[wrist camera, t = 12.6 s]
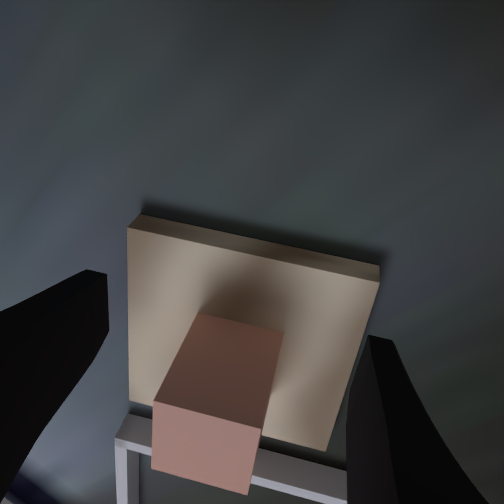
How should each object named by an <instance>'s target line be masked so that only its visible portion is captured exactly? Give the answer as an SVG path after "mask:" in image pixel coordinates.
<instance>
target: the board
mask: <svg viewBox="0 0 504 504" xmlns="http://www.w3.org/2000/svg"><path fill="white" fill-rule="evenodd" d="M127 255H128V334H129V400H130V401H134V402H138V403H142V404H146V405H149V406H153V400H154V398H155V396H156V394H157V392H158V390H159V388H160V386H161V384H162V382H163V380H164V378H165V376H166V374H167V372H168V370H169V368H170V366H171V364H172V362H173V360H174V358H175V356H176V354H177V352H178V350H179V348H180V346H181V344H182V343H183V341H184V339H185V337H186V335H187V333H188V331H189V329H190V327H191V325H192V323H193V321H194V319H195V317H196V315H197V313H198V312H199V313H203V314H207V315H211V316H216V317H220V318H224V319H228V320H232V321H237V322H241V323H245V324H249V325H253V326H258V327H262V328H266V329H270V330H274V331H279V332H283V333H284V335H283V340H282V345H281V349H280V354H279V359H278V363H277V368H276V373H275V377H274V382H273V387H272V391H271V396H270V400H269V405H268V409H267V413H266V417H265V422H264V426H263V430H262V435H264V436H268V437H271V438H275V439H279V440H283V441H287V442H290V443H294V444H298V445H302V446H306V447H309V448H313V449H317V450H321V451H326V448H327V445H328V442H329V439H330V436H331V433H332V430H333V426H334V423H335V420H336V417H337V414H338V411H339V408H340V405H341V402H342V399H343V396H344V392H345V389H346V386H347V383H348V380H349V377H350V374H351V371H352V368H353V365H354V361H355V358H356V355H357V352H358V349H359V346H360V343H361V340H362V337H363V334H364V331H365V327H366V324H367V321H368V318H369V315H370V312H371V309H372V306H373V303H374V300H375V296H376V293H377V290H378V287H379V284H380V271H379V265H374V264H370V263H365V262H360V261H356V260H351V259H346V258H342V257H337V256H333V255H328V254H323V253H319V252H314V251H309V250H305V249H300V248H295V247H291V246H286V245H281V244H277V243H272V242H268V241H263V240H258V239H254V238H249V237H244V236H240V235H235V234H230V233H226V232H221V231H216V230H212V229H207V228H203V227H198V226H193V225H189V224H184V223H179V222H175V221H170V220H165V219H161V218H156V217H151V216H147V215H142V214H139V215H138V217H137V218H136V219H135V220H134V221H133V222H132V223H131V224H130V225H129V226H128V227H127Z"/></svg>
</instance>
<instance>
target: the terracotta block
mask: <svg viewBox="0 0 504 504" xmlns="http://www.w3.org/2000/svg"><path fill="white" fill-rule="evenodd" d="M283 335H284V333H283V332H279V331H274V330H270V329H266V328H262V327H258V326H253V325H249V324H245V323H241V322H237V321H232V320H228V319H224V318H220V317H216V316H211V315H207V314H203V313H199V312H198V313H197V315H196V317H195V319H194V321H193V323H192V325H191V327H190V329H189V331H188V333H187V335H186V337H185V339H184V341H183V343H182V344H181V346H180V348H179V350H178V352H177V354H176V356H175V358H174V360H173V362H172V364H171V366H170V368H169V370H168V372H167V374H166V376H165V378H164V380H163V382H162V384H161V386H160V388H159V390H158V392H157V394H156V396H155V398H154V400H153V423H152V458H151V469H155V470H158V471H162V472H166V473H169V474H173V475H176V476H180V477H183V478H187V479H191V480H194V481H198V482H201V483H205V484H209V485H212V486H216V487H219V488H223V489H226V490H230V491H234V492H237V493H241V494H244V495H248V490H249V486H250V482H251V477H252V473H253V469H254V465H255V460H256V456H257V452H258V447H259V443H260V439H261V435H262V430H263V426H264V422H265V417H266V413H267V409H268V405H269V400H270V396H271V391H272V387H273V382H274V377H275V373H276V368H277V363H278V359H279V354H280V349H281V345H282V340H283Z"/></svg>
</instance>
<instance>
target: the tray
mask: <svg viewBox="0 0 504 504" xmlns="http://www.w3.org/2000/svg"><path fill="white" fill-rule="evenodd" d="M152 423H153V420H152V419H148V418H144V417H140V416H137V415H133V414H129V413H128V414H127V416H126V418H125V419H124V421H123V423H122V425H121V427H120V429H119V430H118V432H117V434H116V436H115V464H116V490H117V504H139V453H143V454H147V455H150V456H152ZM250 483H252V484H256V485H260V486H263V487H267V488H271V489H274V490H278V491H282V492H285V493H289V494H292V495H296V496H300V497H303V498H307V499H311V500H314V501H318V502H322V503H325V504H347V471H344V470H340V469H336V468H332V467H329V466H325V465H321V464H317V463H314V462H310V461H306V460H302V459H298V458H295V457H291V456H287V455H283V454H280V453H276V452H272V451H268V450H265V449H261V448H258V452H257V456H256V460H255V465H254V469H253V473H252V477H251V482H250Z"/></svg>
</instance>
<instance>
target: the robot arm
mask: <svg viewBox="0 0 504 504" xmlns="http://www.w3.org/2000/svg"><path fill="white" fill-rule="evenodd" d="M108 332H109V312H108V287H107V274H105V273H100V272H96V271H92V270H87V269H86V270H84V271H82V272H79V273H77V274H75V275H73V276H71V277H69V278H67V279H65V280H63V281H61V282H60V283H58V284H56V285H54V286H52V287H50V288H48V289H46V290H44V291H42V292H40V293H38V294H36V295H34V296H32V297H30V298H28V299H26V300H24V301H22V302H20V303H18V304H16V305H14V306H11V307H9V308H7V309H5V310H3V311H0V503H1V501H2V500H3V498H4V496H5V494H6V492H7V491H8V489H9V487H10V485H11V483H12V482H13V480H14V478H15V476H16V474H17V473H18V471H19V469H20V467H21V466H22V464H23V462H24V461H25V459H26V457H27V455H28V454H29V452H30V450H31V449H32V447H33V445H34V444H35V442H36V440H37V439H38V437H39V436H40V434H41V433H42V431H43V430H44V428H45V427H46V425H47V424H48V423H49V421H50V420H51V419H52V417H53V416H54V414H55V413H56V412H57V410H58V409H59V408H60V406H61V405H62V403H63V402H64V401H65V399H66V398H67V397H68V395H69V394H70V393H71V391H72V390H73V388H74V387H75V386H76V384H77V383H78V382H79V380H80V379H81V377H82V376H83V375H84V373H85V372H86V370H87V369H88V368H89V366H90V365H91V363H92V362H93V360H94V358H95V357H96V355H97V353H98V351H99V349H100V348H101V346H102V344H103V342H104V340H105V338H106V336H107V334H108ZM346 464H347V504H489V503H488V502H487V501H486V500H485V499H484V497H483V496H482V495H481V494H480V492H479V491H478V490H477V489H476V487H475V486H474V485H473V483H472V482H471V481H470V479H469V478H468V477H467V475H466V474H465V472H464V471H463V470H462V468H461V467H460V465H459V464H458V462H457V461H456V460H455V458H454V457H453V455H452V453H451V452H450V450H449V449H448V447H447V446H446V444H445V443H444V441H443V439H442V438H441V436H440V434H439V433H438V431H437V429H436V428H435V426H434V424H433V423H432V421H431V419H430V417H429V415H428V414H427V412H426V410H425V408H424V406H423V404H422V402H421V400H420V398H419V397H418V395H417V393H416V391H415V389H414V387H413V385H412V383H411V381H410V378H409V376H408V374H407V372H406V370H405V368H404V365H403V363H402V361H401V358H400V356H399V354H398V351H397V349H396V346H395V344H394V343H393V341H392V340H389V339H384V338H380V337H376V336H372V335H368V337H367V340H366V343H365V346H364V349H363V352H362V355H361V358H360V361H359V364H358V367H357V370H356V373H355V376H354V379H353V382H352V385H351V388H350V393H349V402H348V412H347V422H346Z"/></svg>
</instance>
